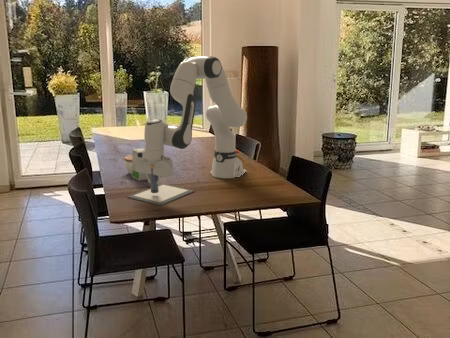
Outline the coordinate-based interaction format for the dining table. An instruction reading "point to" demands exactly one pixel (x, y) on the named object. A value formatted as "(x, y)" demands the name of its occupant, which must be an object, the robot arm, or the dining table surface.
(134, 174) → the skincare box
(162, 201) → the mat
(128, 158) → the lidded bowl
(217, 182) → the dining table surface
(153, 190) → the marker
